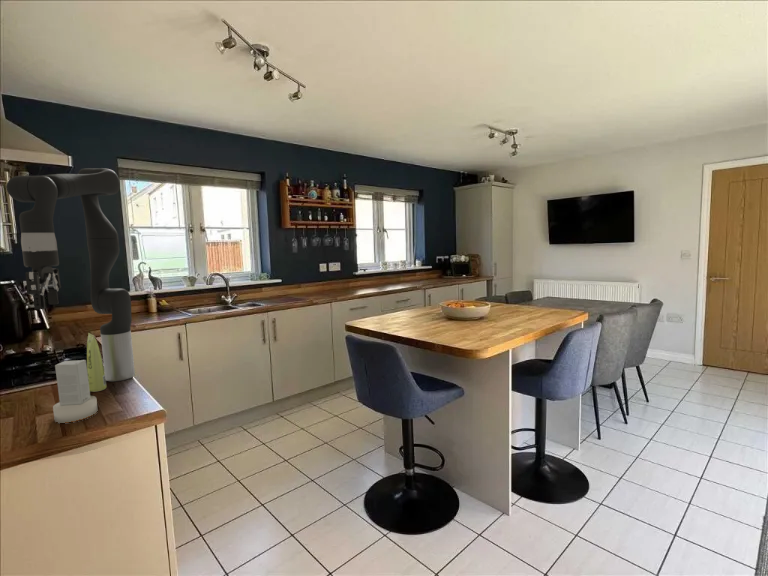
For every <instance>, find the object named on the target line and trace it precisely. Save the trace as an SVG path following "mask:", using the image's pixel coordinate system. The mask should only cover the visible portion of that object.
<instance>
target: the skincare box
mask: <svg viewBox="0 0 768 576" xmlns="http://www.w3.org/2000/svg"><path fill="white" fill-rule="evenodd" d="M54 368H55V374H56V375H55V376H56V382H57V383H56V384H57V391H58V399H59V400H58V402H60V405H76V404H83V403H84V402H86V401H88V400H89V399H90V396H91V392H90V390H89V382H88V372H87V359H81V360H78V359H77V360H64V361H62V362H59V363H57V364H55V365H54Z"/></svg>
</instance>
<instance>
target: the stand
mask: <svg viewBox="0 0 768 576" xmlns="http://www.w3.org/2000/svg"><path fill="white" fill-rule="evenodd" d="M52 410H53V419H54V423H56V422H58V423H57V424H60V423H65V422H71V421H76V420H79V419H83V418H86V417H88V416H91V415H93V414H95V413H96V412H97V411H98V412H99V409H98V401H97V396H94V395H90V399H89V400H88V401H86V402H84V403H83V404H76V405H60V401H58V402H56V403H55V404H54V405H53V406H52ZM98 412H97V413H98ZM97 413H96V414H97ZM96 414H95V415H96ZM65 424H66V423H65Z"/></svg>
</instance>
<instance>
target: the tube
mask: <svg viewBox="0 0 768 576" xmlns="http://www.w3.org/2000/svg"><path fill="white" fill-rule="evenodd" d="M87 334H88V336H87V341H86V366H87V373H88V382H89V390H90V393H92V392H93V393H98V392H101V391H104V390H105V389H107V387H108V386H107V381H106V379H105V371H104V361H103V359H102V358H103V357H102V355H101V350H100V347H99V344H98V341H97V339H96V338H95V335H94V334H92V333H90V332H88V333H87Z"/></svg>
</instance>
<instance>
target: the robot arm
mask: <svg viewBox="0 0 768 576" xmlns="http://www.w3.org/2000/svg"><path fill="white" fill-rule="evenodd" d="M120 188H121V181H120V178H119V176H118V174H117V173H116V172H115V171H114V170H112V169H109V168H103V167H101V168H91V167H90V168H89V167H88V168H81V169H80V170H79V171H78V173H56V174H53V173H52V174H45V175H15V176H13V177H11V178H9V180H8V181H7V182H6V188H5V189H6V191H7V193H8V195H9V196H10V197H11V198H12V199H14V200H15V201H17V202H20V203H34V205H33V207H32V208H31V209H29V210H25V211H22V212H20V214H19V217H18V218H19V226H20V227H19V228H20V232H21V235H20V236H21V237H20V245H21V250H22V251H21V252H22V259H23V266H24V267H25V268H31V271H26V272H25V274H24V275H25V283H26V284H25V285H26V293H27V295H30V296H31V297H32V298H33V299H32V300H33V307H34V310H44V309H46V299H45V290H46V293H47V301H48V304H49V305H50V306H51V305H58V304H59V295H58V292H59V289H61V288H62V285H61V277H60V272H59V271H60V270H59V268H53V267H57V266H59V265H60V259H59V252H58V250H59V249H58V242H57V238H56V234H55V227H54V216H55V215H54V214H55V210H56V206H57V205H56V204H57V200H61V199H67V198H72V197H73V198H74V197H79V196H80V200H81V205H82V209H83V217H84V223H85V231H86V233H85V235H86V243H87V250H88V257H89V268H90V270H89V271H90V303H91V308H92V309H93V311H94V312H95V313H97V314H101V315H111V321H109V322H107V323H103V324H102V325H101V326H100V327H99V332H100V340H101V341H100V342H101V349H102V351H101V352H102V358H103V359H102V362H103V367H104V373H105V379H106V382H121V381H125V380H129V379H131V378H133V377H135V375H136V373H135V371H136V370H135V362H134V361H135V359H134V349H133V340H132V330H131V326H132V321H133V318H132V299H131V295H130V293H129V291H128V290H126V289H125V288H110V273H111V270H112V268H113V267H114V265H115V264H116V261H117V259H118V257H119V255H120V243H119V242H120V240H119V234H118V231H117V230H116V228H115V227H114V226H113V223H111V222H110V220H109V219H108V218H107V216H106V215H105V214H104V212H103V210H102V209H101V208H102V207H101V205H100V202H99V196H101V197H102V196H104V197H105V196H114V195H116V194H118V192H119V191H120Z"/></svg>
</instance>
